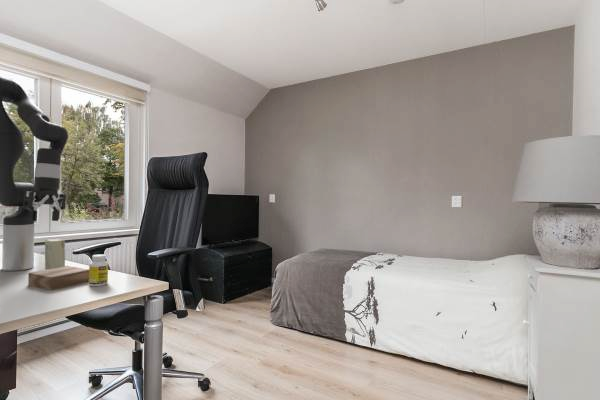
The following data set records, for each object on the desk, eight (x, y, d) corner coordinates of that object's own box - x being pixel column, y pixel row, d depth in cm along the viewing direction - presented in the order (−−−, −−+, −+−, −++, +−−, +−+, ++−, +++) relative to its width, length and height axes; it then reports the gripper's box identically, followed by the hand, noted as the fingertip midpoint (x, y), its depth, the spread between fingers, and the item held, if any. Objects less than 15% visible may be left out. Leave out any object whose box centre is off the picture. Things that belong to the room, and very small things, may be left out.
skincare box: (65, 272, 124) (65, 240, 124) (51, 274, 121) (52, 241, 120) (57, 269, 128) (58, 238, 128) (44, 272, 124) (44, 239, 124)
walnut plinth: (28, 284, 107) (28, 272, 107) (66, 276, 119) (66, 265, 118) (51, 290, 103) (51, 277, 103) (89, 281, 114) (89, 269, 114)
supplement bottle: (98, 287, 108) (99, 257, 107) (84, 285, 109) (85, 256, 108) (111, 283, 113) (112, 254, 113) (97, 281, 114) (98, 253, 114)
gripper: (56, 178, 129) (53, 220, 128) (19, 174, 115) (15, 220, 114) (73, 179, 128) (70, 221, 127) (37, 174, 114) (33, 221, 113)
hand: (44, 221), depth 121 cm, fingers open, 8 cm apart
